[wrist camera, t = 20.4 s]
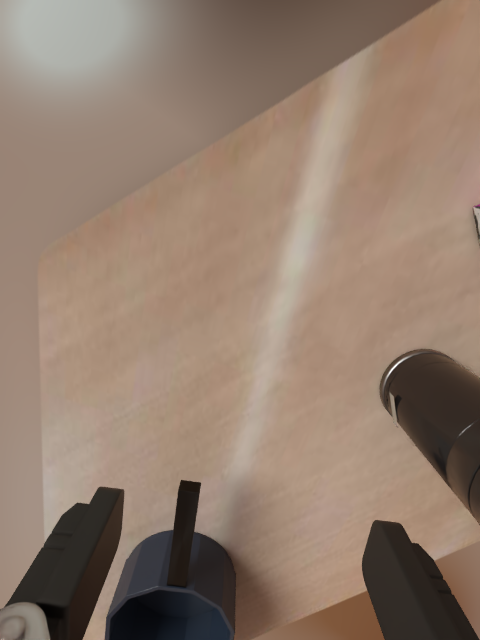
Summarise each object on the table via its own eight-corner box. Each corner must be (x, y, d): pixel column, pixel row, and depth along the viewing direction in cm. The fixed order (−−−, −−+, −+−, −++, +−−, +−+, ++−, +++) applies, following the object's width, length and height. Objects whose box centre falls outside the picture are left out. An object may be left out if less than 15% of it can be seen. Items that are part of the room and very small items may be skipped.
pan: (256, 454, 45) (260, 502, 37) (226, 620, 52) (223, 689, 44) (137, 439, 45) (116, 483, 37) (122, 608, 52) (102, 676, 44)
